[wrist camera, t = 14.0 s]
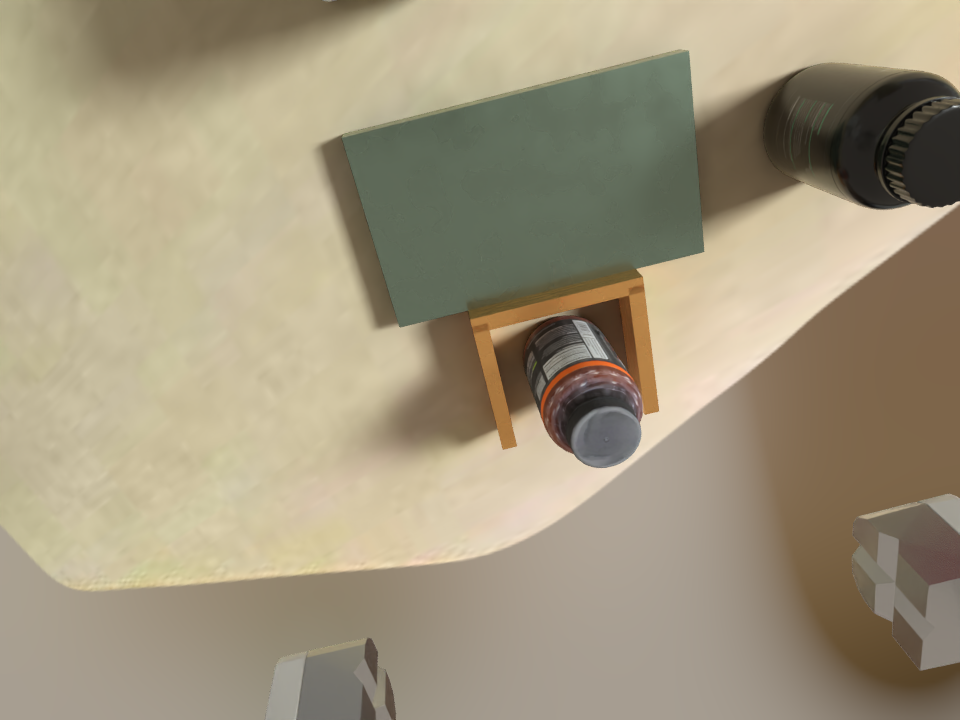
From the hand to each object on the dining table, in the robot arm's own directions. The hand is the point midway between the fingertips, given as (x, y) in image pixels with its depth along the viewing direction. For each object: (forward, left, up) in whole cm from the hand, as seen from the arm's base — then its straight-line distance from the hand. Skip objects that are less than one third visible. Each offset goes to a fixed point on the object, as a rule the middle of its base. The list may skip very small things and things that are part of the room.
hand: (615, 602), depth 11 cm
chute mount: (+4, -7, -34) cm, 35 cm away
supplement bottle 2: (+22, -2, -34) cm, 41 cm away
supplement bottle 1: (+4, -13, -34) cm, 37 cm away
